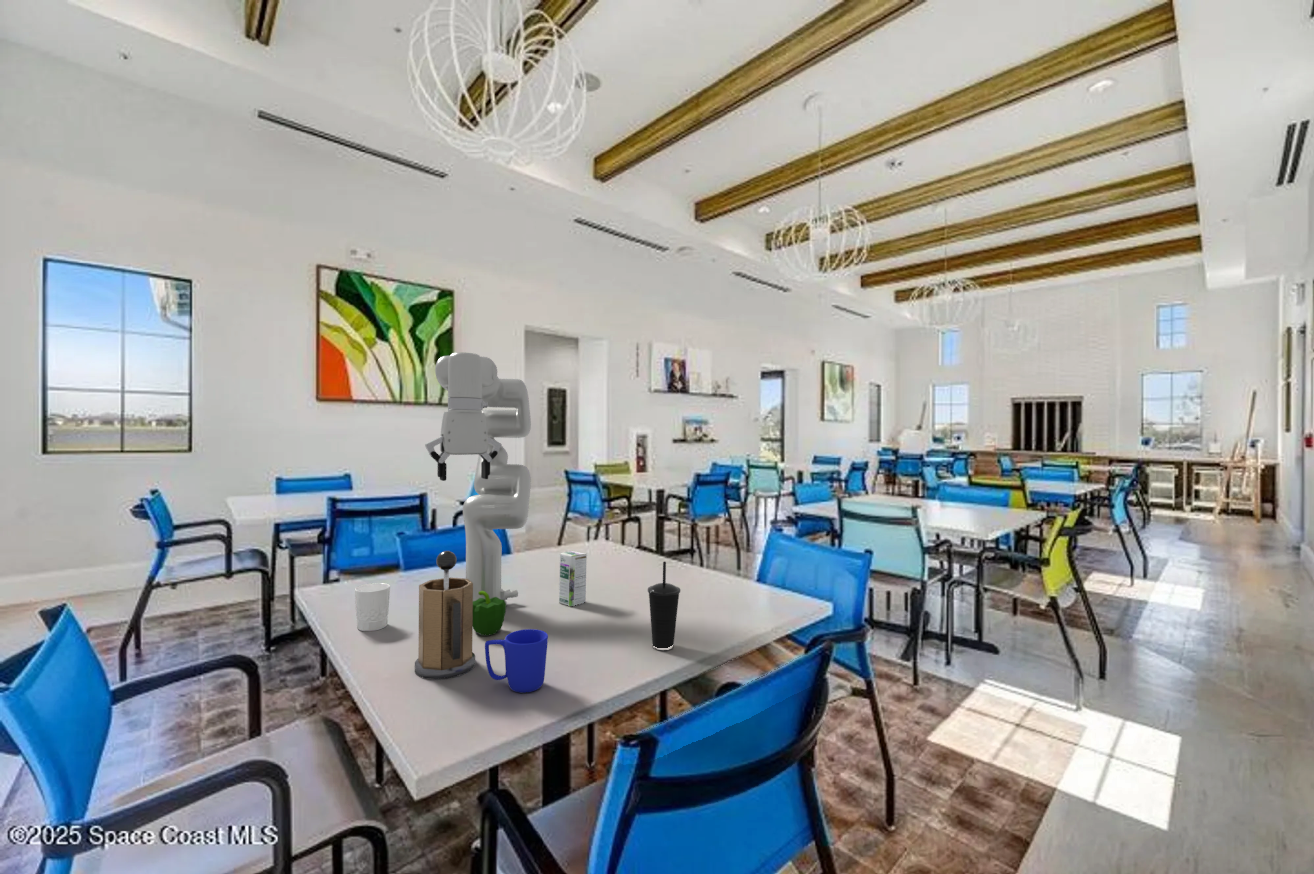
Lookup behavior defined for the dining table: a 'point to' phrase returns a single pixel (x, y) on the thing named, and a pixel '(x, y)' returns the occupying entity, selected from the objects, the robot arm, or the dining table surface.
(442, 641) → the tan octagonal hollow container
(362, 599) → the white cup
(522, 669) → the mug
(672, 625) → the drinking cup
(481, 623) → the bell pepper
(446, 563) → the plunger
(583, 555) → the syrup box
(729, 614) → the dining table surface
